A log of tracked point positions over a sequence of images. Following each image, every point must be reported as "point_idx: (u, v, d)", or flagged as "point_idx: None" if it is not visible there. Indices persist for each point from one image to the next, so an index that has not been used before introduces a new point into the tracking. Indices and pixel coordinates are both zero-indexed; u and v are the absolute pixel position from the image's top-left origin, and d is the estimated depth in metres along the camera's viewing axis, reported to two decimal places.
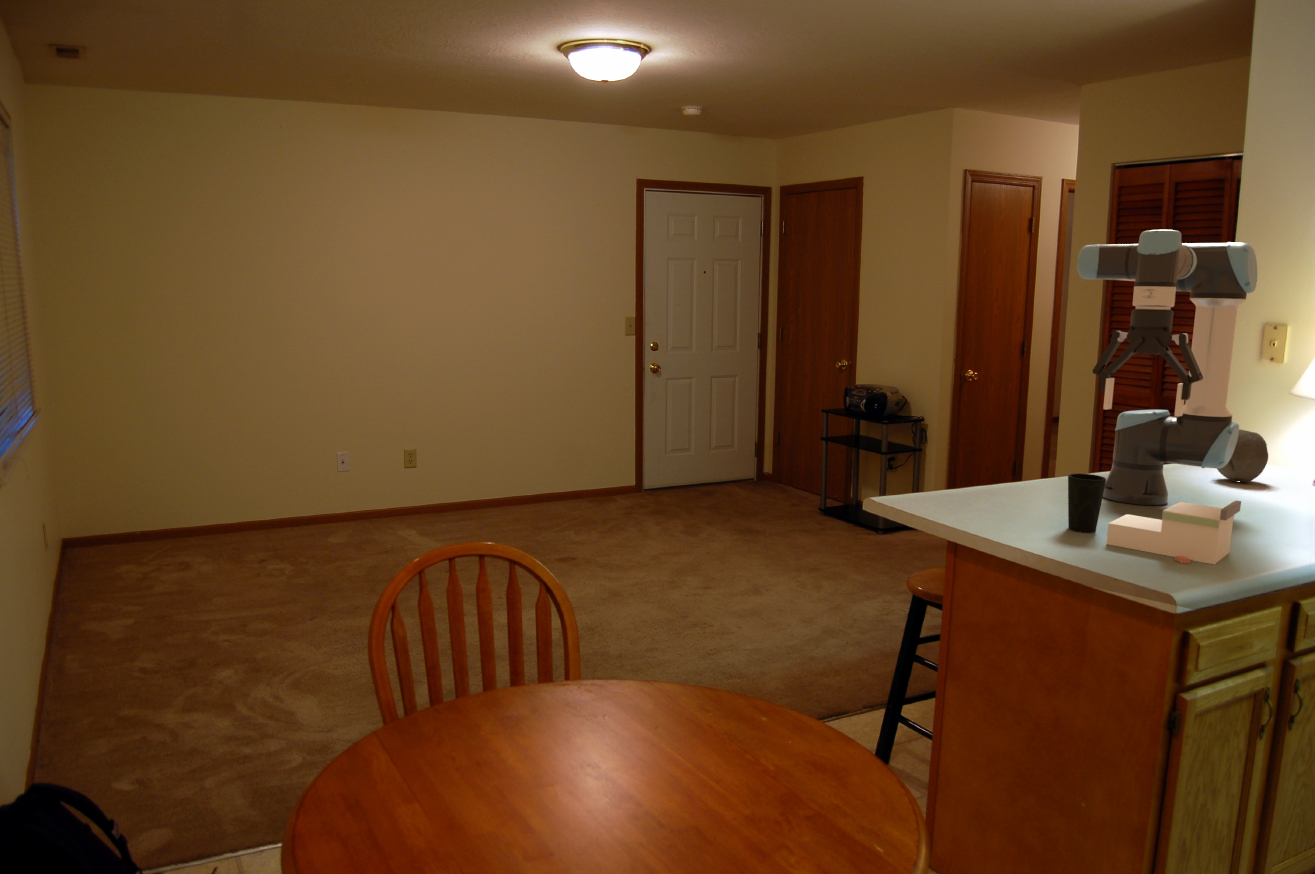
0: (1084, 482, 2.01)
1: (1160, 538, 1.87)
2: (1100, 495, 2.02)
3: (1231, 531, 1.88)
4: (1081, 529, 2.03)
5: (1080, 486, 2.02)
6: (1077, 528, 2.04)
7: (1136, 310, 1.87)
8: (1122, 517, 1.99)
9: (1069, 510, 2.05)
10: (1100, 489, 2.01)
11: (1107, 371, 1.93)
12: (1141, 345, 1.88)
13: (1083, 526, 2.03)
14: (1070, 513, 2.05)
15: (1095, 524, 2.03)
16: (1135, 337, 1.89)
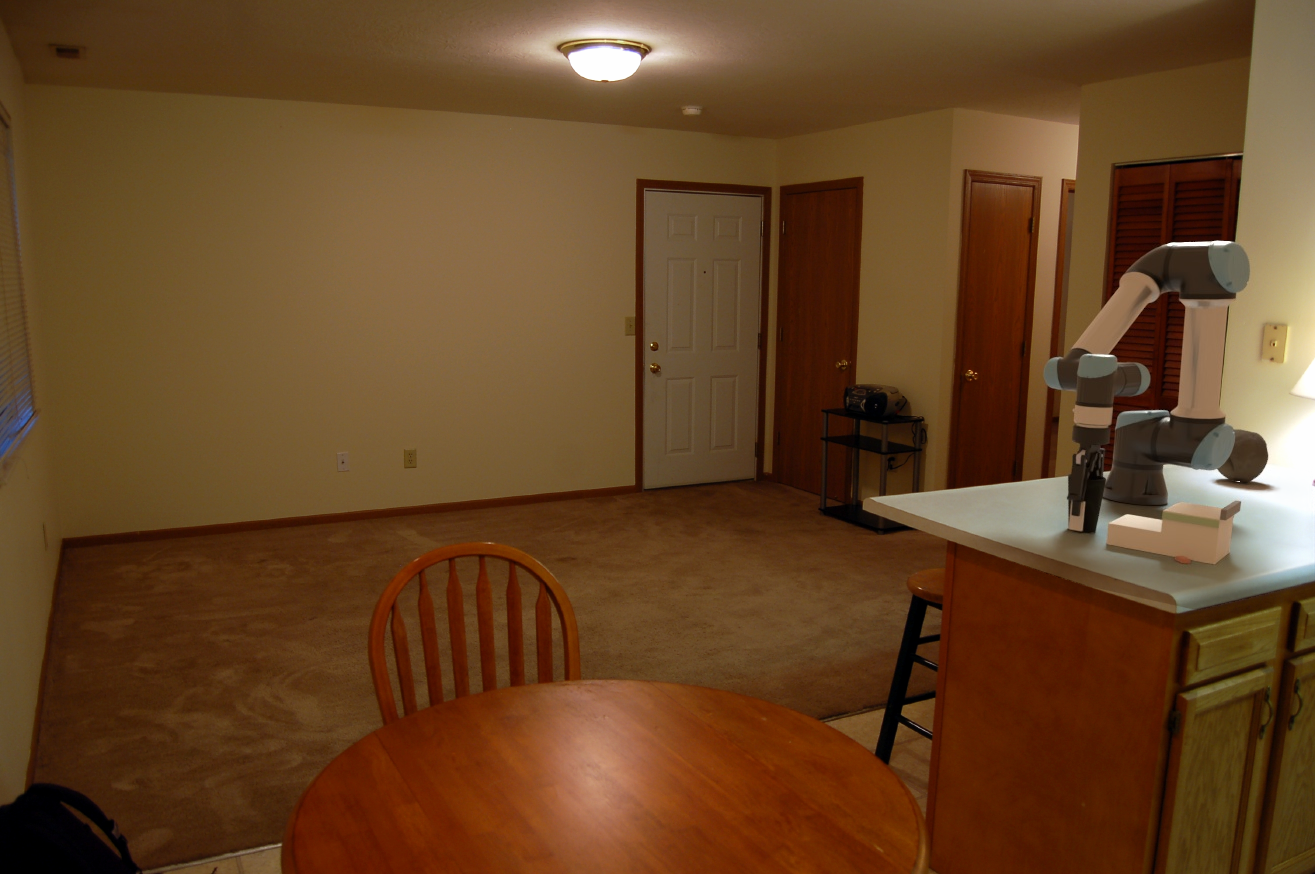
0: None
1: (1160, 538, 1.87)
2: (1100, 495, 2.02)
3: (1231, 531, 1.88)
4: None
5: None
6: None
7: None
8: (1122, 517, 1.99)
9: (1069, 510, 2.05)
10: (1100, 489, 2.01)
11: None
12: None
13: (1083, 526, 2.03)
14: None
15: (1095, 524, 2.03)
16: None
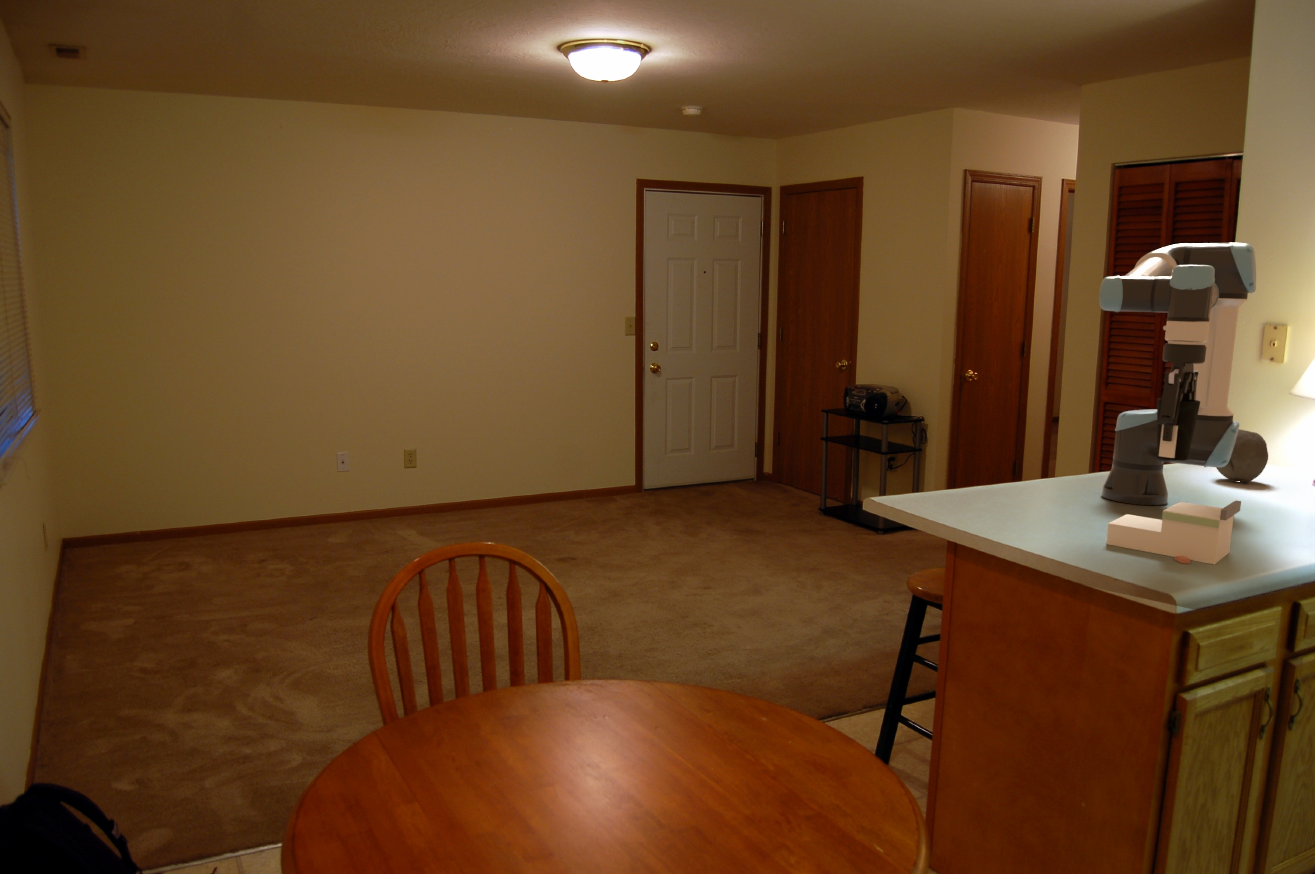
0: None
1: (1160, 538, 1.87)
2: (1194, 419, 1.85)
3: (1231, 531, 1.88)
4: None
5: None
6: None
7: None
8: (1122, 517, 1.99)
9: (1158, 436, 1.89)
10: (1194, 412, 1.85)
11: None
12: None
13: None
14: None
15: (1188, 451, 1.87)
16: None
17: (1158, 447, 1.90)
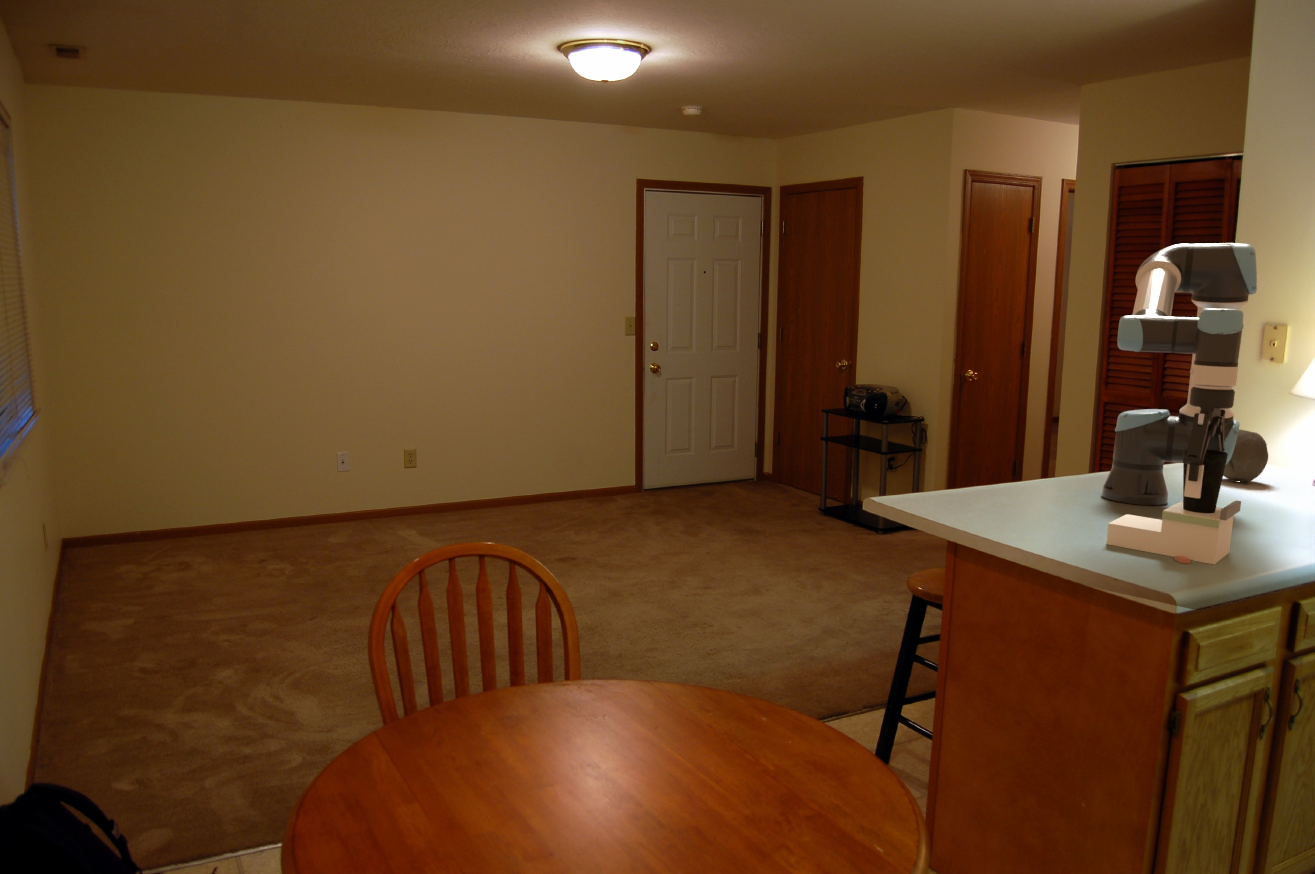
0: (1204, 457, 1.82)
1: (1160, 538, 1.87)
2: (1222, 471, 1.83)
3: (1231, 531, 1.88)
4: (1200, 509, 1.84)
5: None
6: (1195, 508, 1.85)
7: None
8: (1122, 517, 1.99)
9: None
10: (1222, 465, 1.82)
11: None
12: None
13: (1202, 506, 1.84)
14: None
15: (1215, 504, 1.84)
16: None
17: (1185, 499, 1.87)
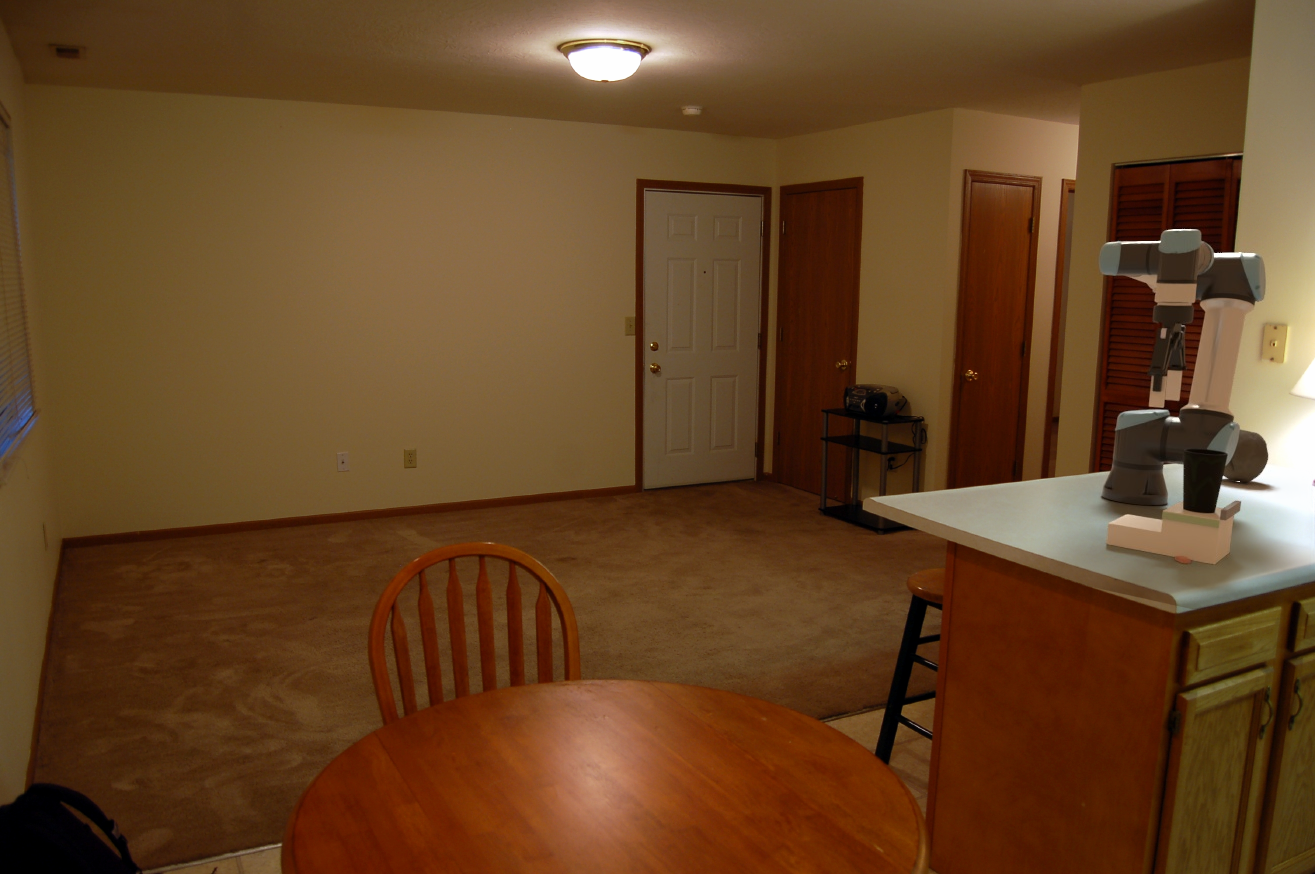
0: (1204, 457, 1.82)
1: (1160, 538, 1.87)
2: (1222, 471, 1.83)
3: (1231, 531, 1.88)
4: (1199, 509, 1.84)
5: (1199, 462, 1.83)
6: (1195, 508, 1.85)
7: None
8: (1122, 517, 1.99)
9: (1185, 488, 1.86)
10: (1222, 465, 1.82)
11: None
12: None
13: (1202, 506, 1.84)
14: (1186, 492, 1.86)
15: (1215, 504, 1.84)
16: None
17: (1185, 499, 1.87)
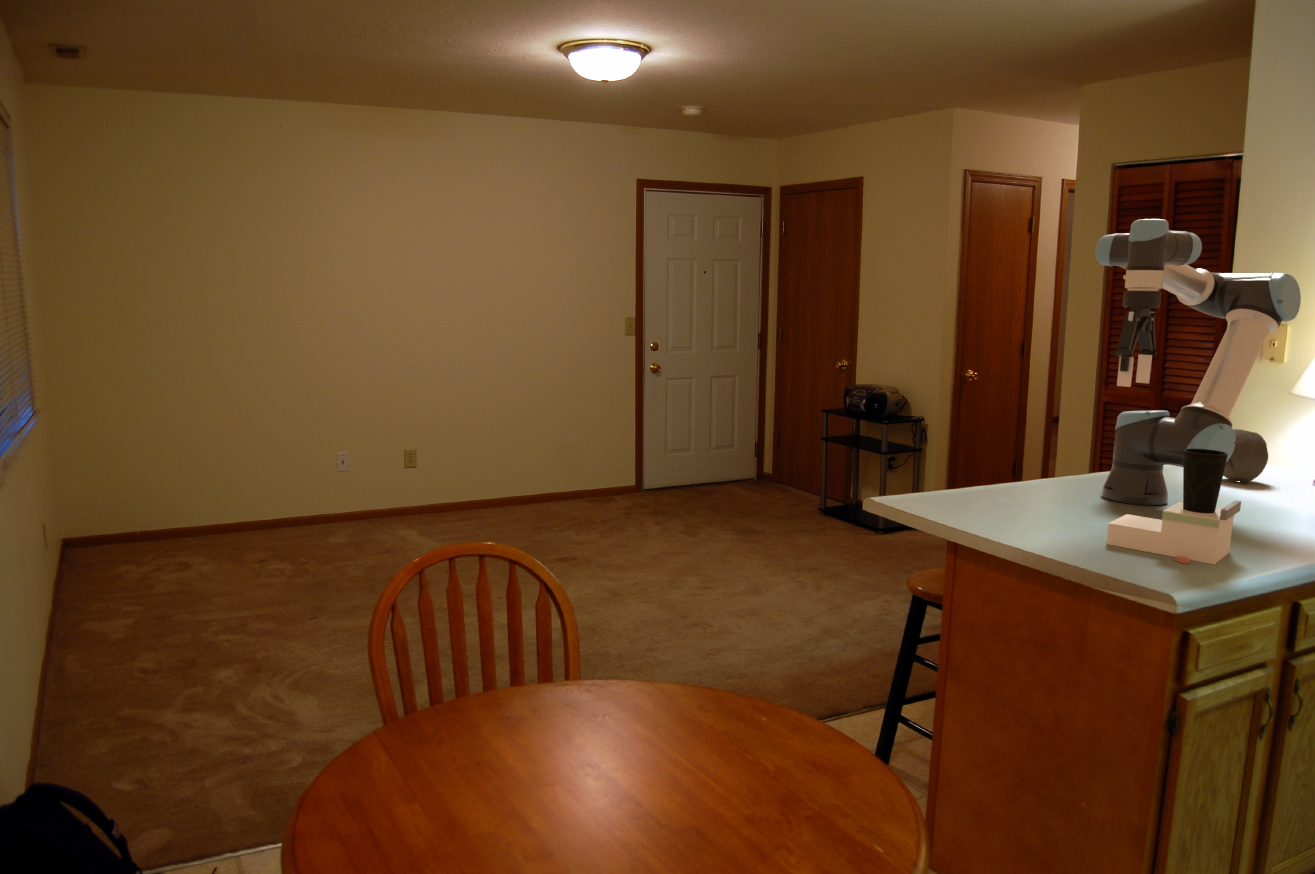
0: (1204, 457, 1.82)
1: (1160, 538, 1.87)
2: (1222, 471, 1.83)
3: (1231, 531, 1.88)
4: (1200, 509, 1.84)
5: (1199, 462, 1.83)
6: (1195, 508, 1.85)
7: None
8: (1122, 517, 1.99)
9: (1185, 488, 1.86)
10: (1222, 465, 1.82)
11: None
12: None
13: (1202, 506, 1.84)
14: (1186, 492, 1.86)
15: (1215, 504, 1.84)
16: None
17: (1185, 499, 1.87)
